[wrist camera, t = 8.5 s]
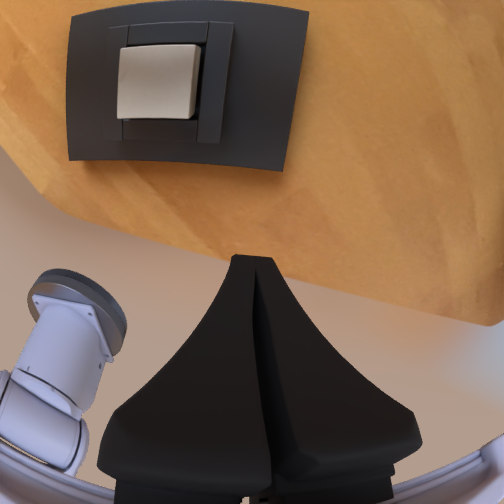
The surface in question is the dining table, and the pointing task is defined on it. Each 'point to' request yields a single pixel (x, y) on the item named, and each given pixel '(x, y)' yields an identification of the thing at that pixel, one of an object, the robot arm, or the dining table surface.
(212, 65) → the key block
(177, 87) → the ivory key
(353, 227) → the dining table surface
